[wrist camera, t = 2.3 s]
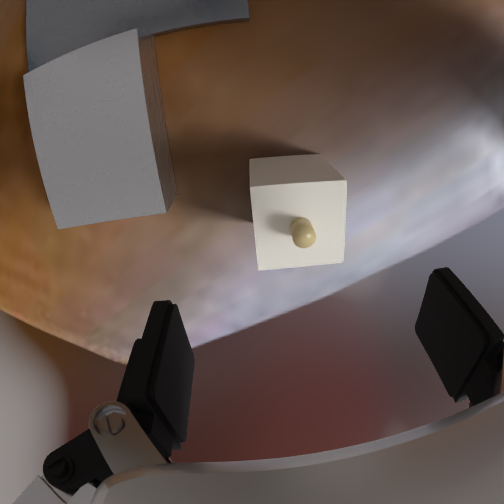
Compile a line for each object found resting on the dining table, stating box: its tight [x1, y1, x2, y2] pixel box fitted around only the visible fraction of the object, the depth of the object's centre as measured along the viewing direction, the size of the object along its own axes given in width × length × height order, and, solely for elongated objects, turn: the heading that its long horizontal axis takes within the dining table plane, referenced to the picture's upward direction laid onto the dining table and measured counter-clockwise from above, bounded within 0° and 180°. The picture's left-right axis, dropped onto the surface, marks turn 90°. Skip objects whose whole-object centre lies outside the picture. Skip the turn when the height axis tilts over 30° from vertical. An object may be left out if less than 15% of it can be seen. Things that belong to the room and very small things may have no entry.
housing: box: [249, 154, 347, 271], centre depth 18 cm, size 5×5×8 cm
